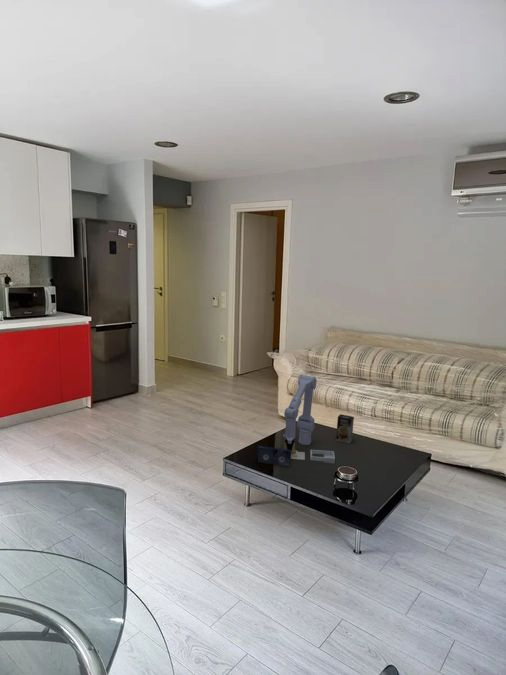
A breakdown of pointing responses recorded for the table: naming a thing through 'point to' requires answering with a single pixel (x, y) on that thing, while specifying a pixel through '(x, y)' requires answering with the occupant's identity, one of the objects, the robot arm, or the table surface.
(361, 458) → the table surface
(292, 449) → the block
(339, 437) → the coffee box
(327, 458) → the parts tray
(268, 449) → the vhs cassette tape
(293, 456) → the box
